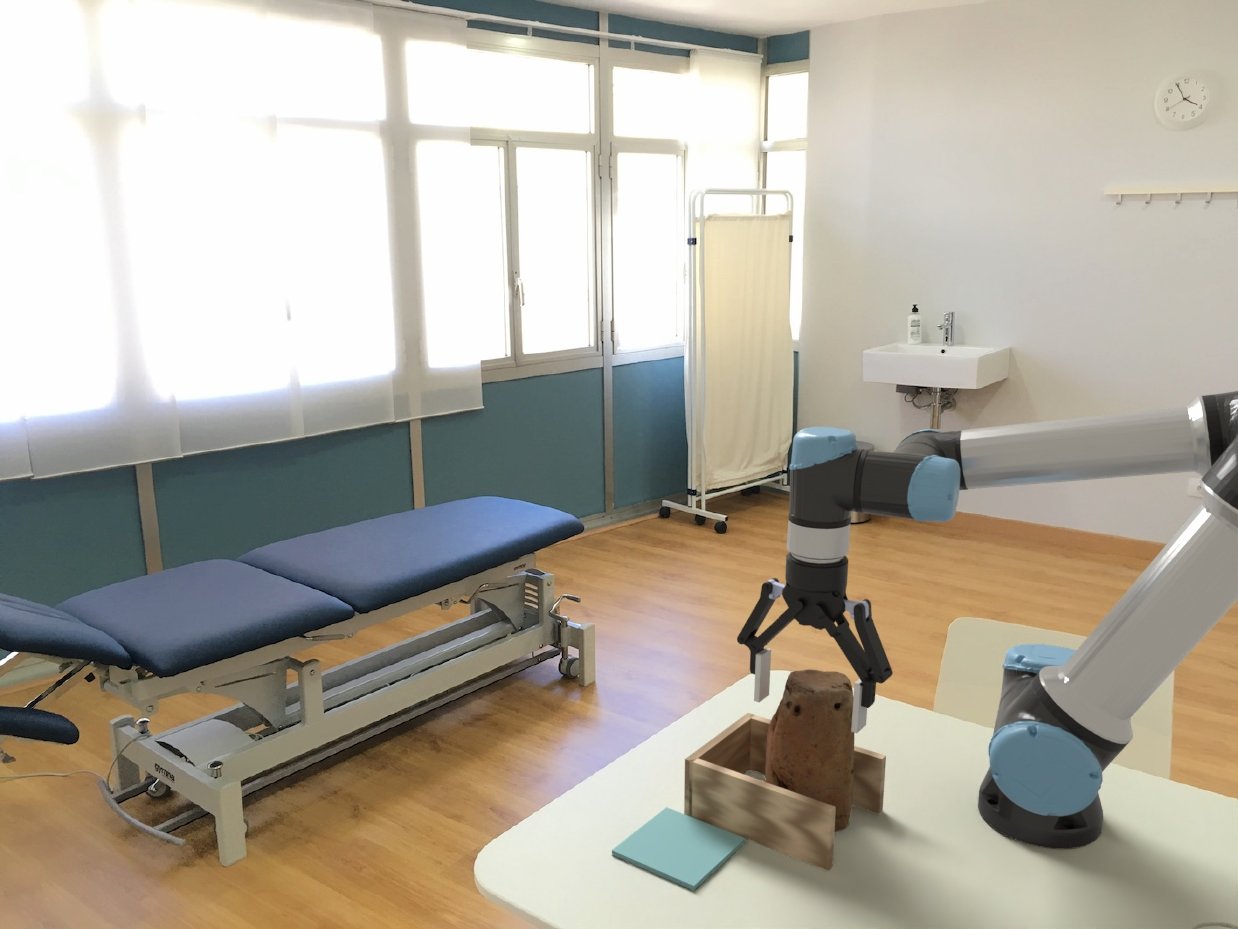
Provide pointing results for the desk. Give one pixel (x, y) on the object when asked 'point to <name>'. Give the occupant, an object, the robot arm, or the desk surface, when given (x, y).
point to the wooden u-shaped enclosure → (770, 794)
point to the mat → (679, 848)
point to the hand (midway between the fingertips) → (808, 713)
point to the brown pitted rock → (814, 740)
